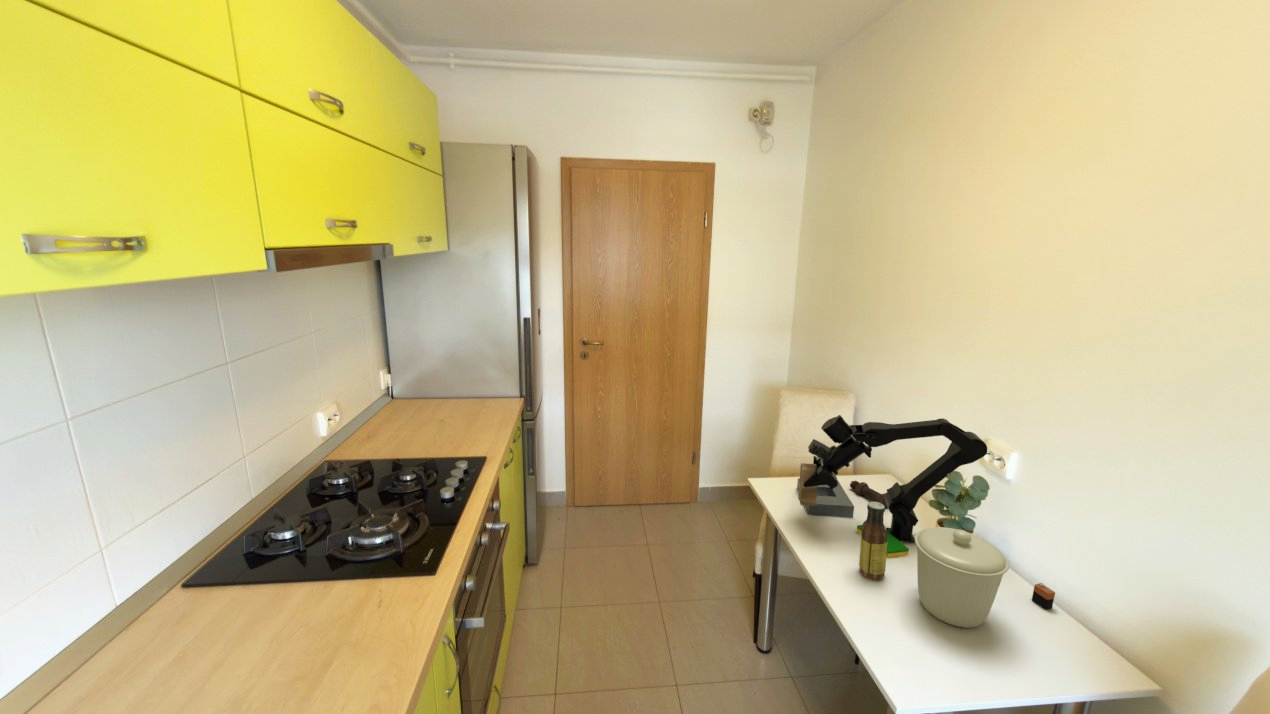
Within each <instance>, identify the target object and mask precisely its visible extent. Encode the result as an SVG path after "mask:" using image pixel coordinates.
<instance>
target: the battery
mask: <svg viewBox="0 0 1270 714" xmlns="http://www.w3.org/2000/svg"><path fill="white" fill-rule="evenodd" d="M1055 596H1056V592H1055V591H1054V590H1053V589H1051V588H1049V587H1047V586H1046V585H1045V584H1044V583H1042V582H1039V583H1037V584H1034V586H1033V591H1032V596H1031V597H1032V598H1031V601H1032V602H1034V603H1035V604H1036V605H1037V606H1039V607H1041V609H1043V610H1049V609H1050V610H1051V609H1053V605H1054V601H1055Z"/></svg>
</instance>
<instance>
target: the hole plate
mask: <svg viewBox="0 0 1270 714" xmlns="http://www.w3.org/2000/svg"><path fill="white" fill-rule="evenodd" d="M799 482H800V477H798V478H797V484H796V485H797V486H796V490H797V491H798V493H799ZM803 506H804V509H805V511H806V512H807V515H809V516H819V517H820V516H823V517H834V518H835V517H837V518H838V517H839V518H840V517H841V518H852V519H853V518H854V511H855V506H854V504H853V503H852V501H851V499H850V497H849V496H848V495H847V493H846V491H845V490H844V487H843V485H841V483H840V482H839V480H838V486H837V487H835V488H834V489H831V488H830V487H829V486H828V485H819V486H817V498H816V506H808V505H803Z"/></svg>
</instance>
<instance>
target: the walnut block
mask: <svg viewBox="0 0 1270 714" xmlns="http://www.w3.org/2000/svg"><path fill="white" fill-rule="evenodd" d="M815 467H816V468H817V466H816V464H813V463H805V462H804V463H803V462H802V463H800V470H799V478H800V482H799V492H798V501H799V504H800V505H801V506H804V505H808V506H816V498H817V486H811V487H805V486H804V485H803V484H804V483H805V482H806V481H807V480H808V479H809V478H810V477H811V476H812V475H813V474H814V473H815ZM817 469H818V468H817Z"/></svg>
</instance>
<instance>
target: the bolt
mask: <svg viewBox="0 0 1270 714" xmlns="http://www.w3.org/2000/svg"><path fill="white" fill-rule="evenodd" d="M849 487H850V488H851V490H854V491H855V493H856V494H857V495H858V496H860V497H864V496H865V497H867V498H868V499H870V500H872V501H873V502H879V503H881V504H883V505H884V506H885V510H889V509H888V506H887V504H886V501H885V494H886V493H887V492H885V493H880V492H878V491H876V490H874V489H872V488H870V486H869V484H868V483H867V482H864V481H863V482H859V481H858V480H852V481H850V483H849Z"/></svg>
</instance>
